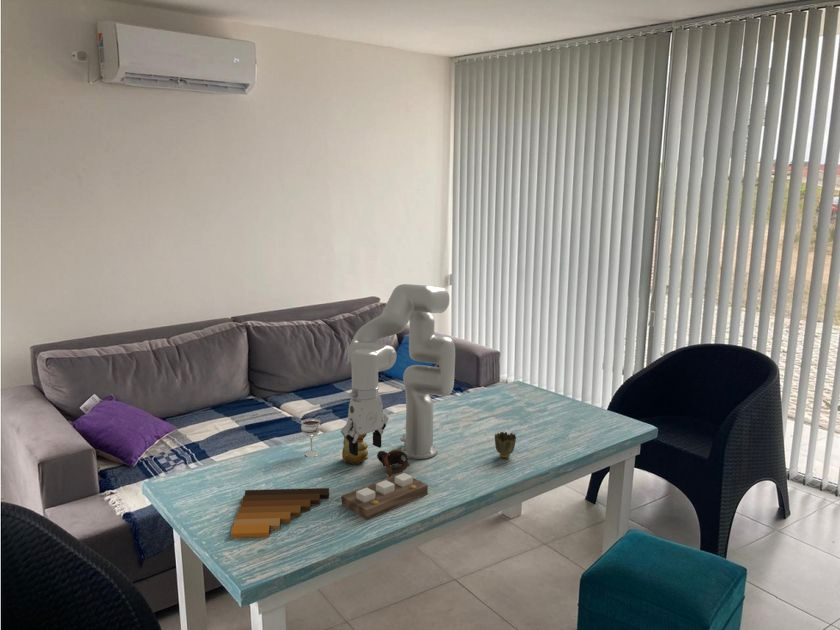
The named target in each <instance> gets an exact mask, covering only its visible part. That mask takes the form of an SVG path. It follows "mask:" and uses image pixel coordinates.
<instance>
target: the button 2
mask: <svg viewBox="0 0 840 630" xmlns="http://www.w3.org/2000/svg"><path fill="white" fill-rule="evenodd" d="M402 473H403V474H400V475H397V476H395V484H397V485H399V486H401V487H406V486H408V485H411V484H413V478H414V477H413V476H412V475H410V474H408V473H405V472H402Z"/></svg>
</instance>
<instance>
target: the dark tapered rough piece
mask: <svg viewBox="0 0 840 630" xmlns="http://www.w3.org/2000/svg"><path fill="white" fill-rule="evenodd" d="M516 440H517V436H516V434H515V433H513V432H511V433H508V432H507V431H505V432H503V431H500V432H497V433H495V434H494V445H495V449H496V452H497V453H499V458H501V459H503V460H505V459H510V456H511V454H512V453H513V452H514V450H515V448H516V447H515V446H516V442H517V441H516Z"/></svg>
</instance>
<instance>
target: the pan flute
mask: <svg viewBox="0 0 840 630" xmlns="http://www.w3.org/2000/svg"><path fill="white" fill-rule="evenodd" d="M329 498H330V488H329V487H320V488H319V487H317V488H315V487H313V488H281V489H280V488H274V489H244V495H242V500H241V501H240V506H239V507H238V512H237V513H236V517H235V519H234V521H233V525H231V532H230V534H231V535H230V536H231V539H236V538H266V537H270V534H271V531H278V530H279V531H280V530H281V527H282V524H291V522H292V518H295V517H297V518H298V517H299V518H300V517H301V516H302V511H303V512H304V511H311V508H312V505H320V503H321V500H323V499H326V500H327V499H329Z"/></svg>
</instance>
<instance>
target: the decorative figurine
mask: <svg viewBox="0 0 840 630" xmlns="http://www.w3.org/2000/svg"><path fill="white" fill-rule="evenodd" d="M347 423H348V421H347V422H346V424H347ZM348 433H350V431H348ZM367 434H368V433H367ZM367 434H363V435H359V436H358V438H357V441H356V442H357V443H358V455H357V456H355V455H353V454H351V453H350V452H349V441H348V440H347V439H346V438H345V437H344V436H343V441H342V442H343V447H342V454H341V455H342V459H343V461H344V462H347V463H349V464H352V465H357V464H361V463H363V462H365V461H366V460H368V459H369V456H368V454H369V450H368V447H369V444H368V443H367V442H364V439H365V438H366V437H367ZM354 435H355V433H354ZM354 435H353V437H354Z"/></svg>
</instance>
